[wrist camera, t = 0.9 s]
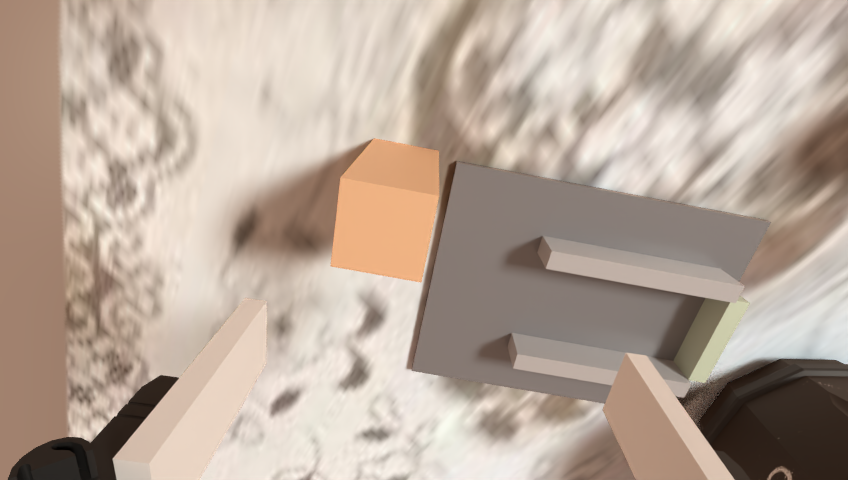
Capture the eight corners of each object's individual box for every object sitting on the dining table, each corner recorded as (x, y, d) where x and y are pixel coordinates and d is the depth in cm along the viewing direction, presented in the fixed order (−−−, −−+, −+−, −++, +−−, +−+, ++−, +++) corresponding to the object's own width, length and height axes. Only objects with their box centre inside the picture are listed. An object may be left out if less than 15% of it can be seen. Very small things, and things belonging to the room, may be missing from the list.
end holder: (456, 160, 33) (458, 171, 29) (765, 219, 34) (801, 236, 30) (412, 366, 40) (410, 393, 37) (664, 409, 41) (684, 439, 38)
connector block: (374, 138, 32) (340, 177, 21) (438, 150, 32) (438, 195, 21) (365, 200, 34) (330, 266, 23) (426, 211, 34) (421, 282, 23)
